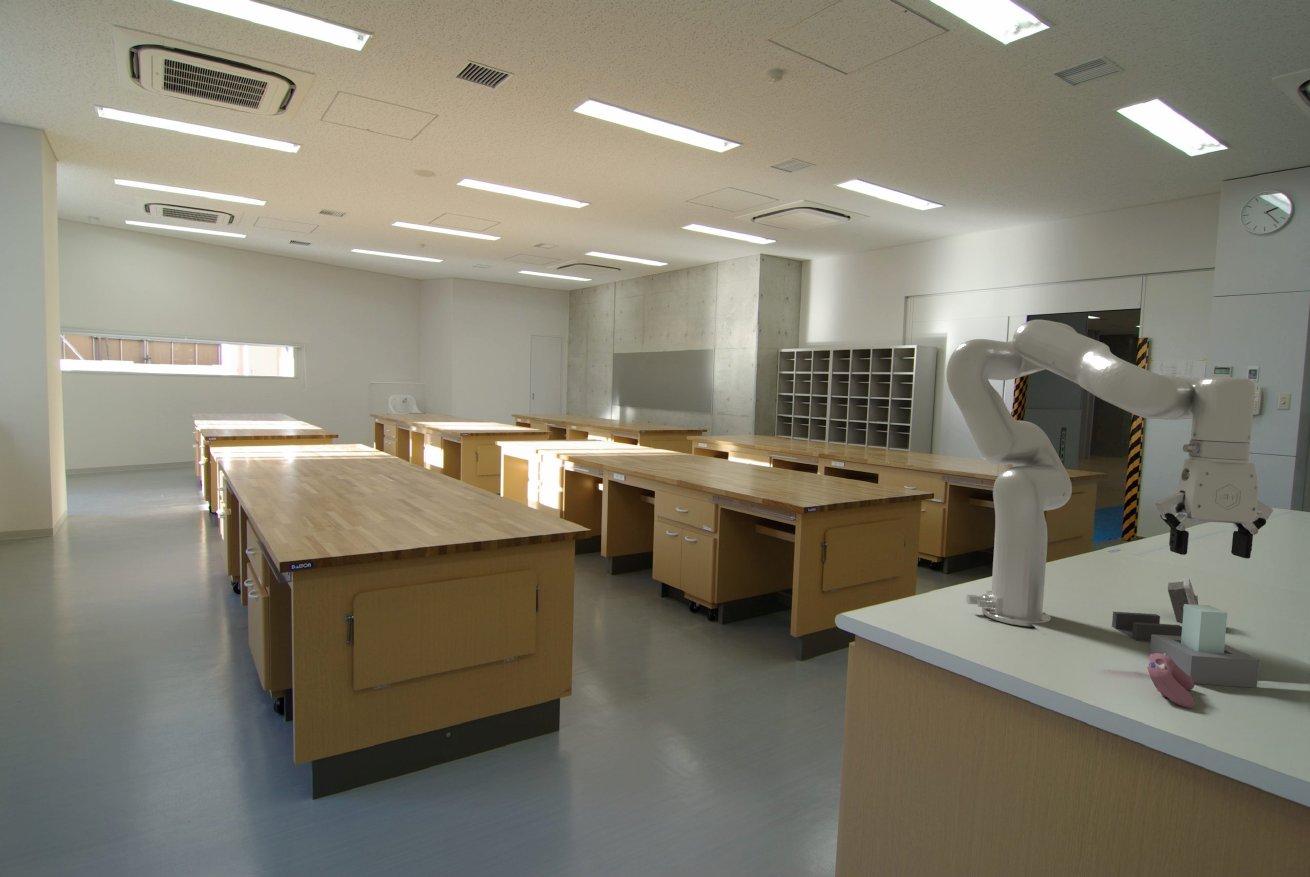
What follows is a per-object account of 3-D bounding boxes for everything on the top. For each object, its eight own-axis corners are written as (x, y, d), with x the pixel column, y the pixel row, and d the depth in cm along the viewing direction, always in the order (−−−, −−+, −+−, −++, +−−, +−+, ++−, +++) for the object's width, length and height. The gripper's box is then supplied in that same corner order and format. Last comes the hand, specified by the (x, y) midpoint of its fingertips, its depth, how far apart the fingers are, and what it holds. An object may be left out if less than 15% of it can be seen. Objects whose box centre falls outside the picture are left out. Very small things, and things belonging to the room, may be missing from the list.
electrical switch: (1202, 633, 132) (1200, 586, 132) (1169, 629, 135) (1167, 583, 136) (1201, 622, 140) (1199, 577, 140) (1170, 618, 143) (1168, 575, 143)
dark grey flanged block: (1136, 645, 123) (1137, 624, 123) (1110, 630, 131) (1112, 611, 131) (1182, 648, 123) (1183, 627, 122) (1153, 633, 130) (1155, 613, 130)
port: (1189, 683, 107) (1192, 653, 106) (1149, 659, 116) (1151, 631, 116) (1256, 687, 106) (1259, 657, 105) (1210, 663, 116) (1212, 635, 115)
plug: (1196, 670, 109) (1201, 611, 109) (1178, 661, 113) (1183, 603, 113) (1222, 672, 109) (1227, 612, 108) (1204, 662, 113) (1209, 605, 112)
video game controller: (1163, 692, 107) (1142, 649, 108) (1197, 687, 104) (1174, 643, 105) (1161, 713, 99) (1138, 666, 100) (1197, 708, 96) (1173, 660, 98)
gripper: (1178, 451, 106) (1169, 556, 107) (1295, 456, 105) (1284, 563, 106) (1148, 448, 114) (1139, 546, 115) (1256, 453, 112) (1247, 552, 113)
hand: (1209, 554), depth 110 cm, fingers open, 9 cm apart
